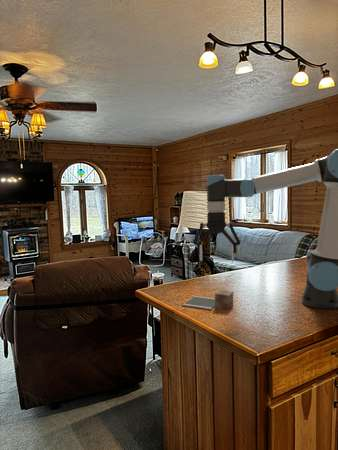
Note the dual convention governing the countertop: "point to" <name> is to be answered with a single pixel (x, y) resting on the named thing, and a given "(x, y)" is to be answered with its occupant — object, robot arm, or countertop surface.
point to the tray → (201, 303)
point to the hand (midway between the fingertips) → (216, 260)
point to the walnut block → (224, 299)
